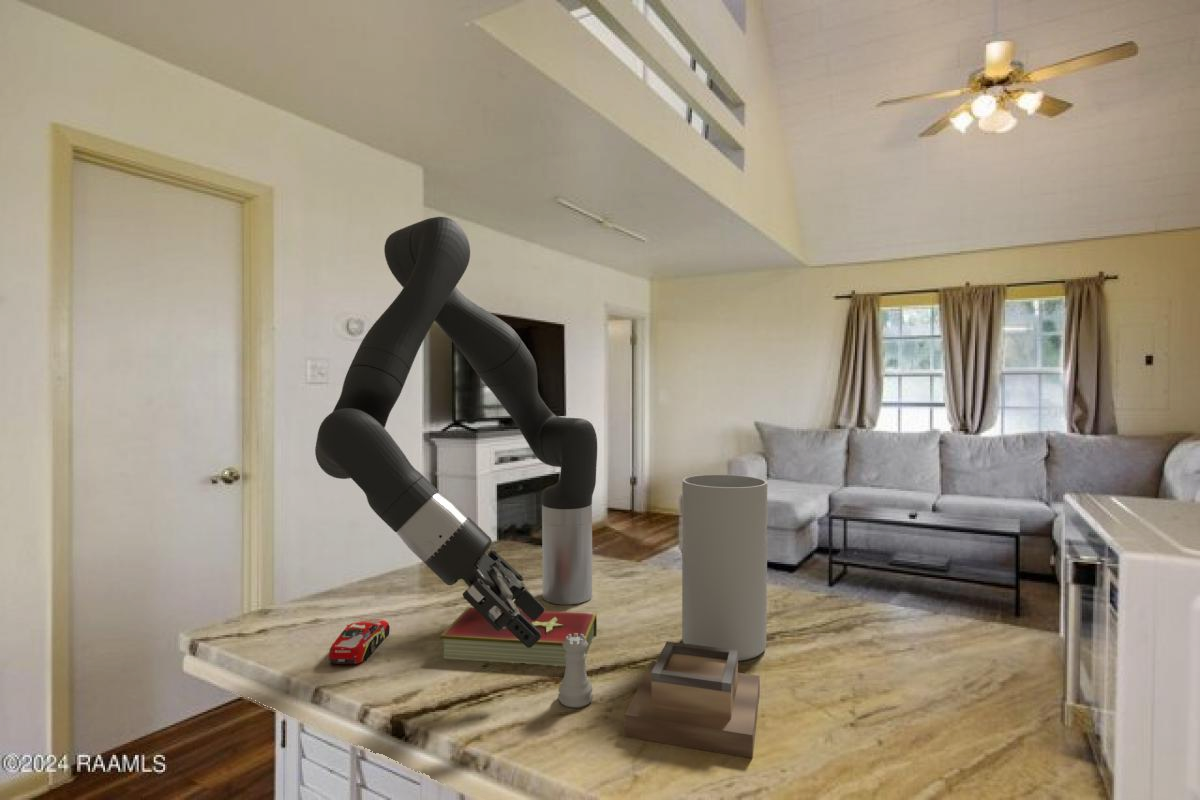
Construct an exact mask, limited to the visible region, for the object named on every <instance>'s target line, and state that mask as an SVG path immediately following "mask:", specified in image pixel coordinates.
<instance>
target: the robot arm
mask: <svg viewBox="0 0 1200 800" xmlns="http://www.w3.org/2000/svg"><path fill="white" fill-rule="evenodd" d="M470 248H471V247H470V242H469V239H468V236H467V234H466V232H465V231H464V229H463V228H462V227H461V225H460V224H458V223H457V222H456V221H455V220H453V219H452V218H449V217H446V216H435V217H430V218H429V217H428V218H425V219H423V220H421V221H419V222H416V223H412V224H410V225H407V226H405V227H403V228H400V229H397V230H395V231H394V232H393V233H390V234H389V236H388V237H387V238H386V240H385V244H384V247H383V250H384V257H385V261H386V264H387V266H388V268H389V270H390V272H391V274H392V276H393V277H394V278H395V280H396V281H397V282H398V284H399V285H400V286H401V287H402V289H401V291H400V292H399V294H398V295H397V296H396V298H395V299H394V300H393V301H392V302H391V304H390V305H389V306H388V307H387V308H386V310H384V312H383V313H382V314H381V315H380V317H379V318H378V319H377V320H376V321H375V322H374V323H373V324H372V326H371V327H370V329H369V330H368V331H367V333H366V334H365V336H364V338H363V339H362V341H361V342H360V345H359V346H358V348H357V351H356V353H355V354H354V356H353V358H352V361H351V363H350V365H349V367H348V370H347V373H346V375H345V378H344V381H343V384H342V389H341V393H340V396H339V398H338V400H337V402H336V404H335V406H334V409H333V411H332V412H331V413H329V414H328V415H327V416H326V417H325V418H324V419H323V421H322V422H321V423H320V425H319V428H318V431H317V434H316V435H317V437H316V443H315V449H314V450H315V452H314V453H315V454H314V455H315V459H316V461H317V462H316V463H317V464H318V466H319V467H320V468H321V470H322V471H323V472H324V473H326V475H328V476H330V477H331V478H334V479H335V478H336V479H341V480H346V479H347V480H348V479H351V480H352V481H353V482H354V483H355V484H356V485H357V486H358V487H359V488H360V489H361V490H362V492H363V493H364V494H365V496H366V499H367V503H368V506H369V507H370V508H371V509H372V511H373V512H374V513H375V514H376V516H378V517H379V519H381V520H382V521H383V522H384V523H385V524H386V525H388V527H389V528H390V529H391V530H392V531H393V532H395V533H396V534H397V535H398V536H399V538H400V539H401V541H402V542H403V543H404V544H405V545H406V546H407V548H408V549H409V550H410V551H411V552H412V553H413V554H414V555H415V556H416V557H418V558H419V559H420V561H421V562H422V563H423V564H425V565H426V567H427V568H429V569H430V570H431V572H433V573H434V574H435V575H436V576H437V577H438V578H439V579H440V580H441V581H442V582H443V583H444V584H445V585H447V586H452V585H455V584H456V583H457V582H458V581H460V580H462V581H464V583H465V584H466V585H467V587H468V588H466V590H464V591H463V593H462V597H463V599H464V600H466V602H467V603H468V604H470V606H471V607H473V608H475V609H476V610H477V611H478V612H479V613H480V614H481V615H482V616H483V617H484V618H485V619H486V620H487V621H488V622H489V623H490V624H491V625H492V626H493V627H494V629H496V630H497V631H500V630H501V629H502V628H503V629H505V628H506V627H507V629H508V630H509V631H510V632H511V633H512V634H513V635H515V636H516V637H517V638H518V639H519V640H520V641H521V642H522V643H523V644H524V645H525V646H526V647H527V648H531V647H532V646H533V645H534V644H535V643H536V642H537V641H538V640H539V639H540V637H541V632H540V631H539V630H538V629H537V628H536V627H535V626H534V625H533V624H532V623H531V622H530V621H529V620H528V619H527V618H526V617H525V616H524V615H523V614H522V613H520V612H519V610H522V611H523V612H524V613H525V614H526V615H527V616H528V617H529V618H530V619H531V620H536V619H537V618H538V617H539V616H540V615H541V614H542V613H543V612H544V611H545V606H544V605H543V603H541V602H540V600H538V599H537V598H536V596H534V595H533V594H532V593H531V592H530V591H529V590H527V587H526V584H525V582H523V581H524V577H523V576H522V574H520V573H519V572H518V571H517V570H516V569H515V568H513V567H512V565H510V564H509V563H508V562H507V561H506V560H505V559H504V558H503V557H502V556H501V555H500V554H499V553H497V551H496V550H494V549H490V547H491V545H492V542H493V541H492V539H491V537H490V536H489V535H488V534H487V533H486V532H485V531H484V530H483V529H482V528H481V527H480V526H479V525H478V524H477V523H476V522H475V521H474V520H473V519H471V517H469V515H467V514H466V513H465V512H464V511H463V510H462V509H461V507H459V506H458V505H457V504H456V503H455V502H454V501H453V500H451V499H450V498H449V497H447V496H446V495H445V494H442V492H441V491H439V490H438V489H437V488H436V487H435V486H434V485H433V484H432V483H431V482H430V481H429V479H427V478H426V477H425V476H424V475H423V474H422V473H420V471H418V470H417V469H416V468H415V467H414V466H413V465H412V463H410V460H409V459H408V458H407V456H406V454H405V453H404V451H403V450H402V449H401V448H400V447H399V445H398V443H397V442H396V440H394V438H393V437H392V435H390V432H388V431H387V429H386V425H387V422H388V419H389V416H390V414H391V411H392V410H393V408H394V406H395V405H396V403H397V401H398V399H399V398H400V395H401V393H402V391H403V389H404V386H405V383H406V381H407V378H408V376H409V375H410V374H409V373H410V371H411V369H412V367H413V364H414V362H415V359H416V358H417V357H416V356H417V354H418V352H419V350H420V348H421V346H422V344H423V342H424V340H425V338H426V336H427V335H428V333H429V331H430V329H431V327H432V326H433V324H434V322H435V323H436V324H437V325H438V326H439V327H440V328H441V329H442V331H443V333H444V334H446V336H447V337H448V338H449V339H450V341H452V343H453V345H455V347H457V349H458V350H459V351H460V353H461V354H462V355H463V356H464V359H466V360H467V362H468V363H469V365H470V366H471V368H472V369H473V370H474V371H475V373H476V375H477V376H478V377H479V378H480V380H481V381H482V382H483V383H484V384H485V385H486V387H487V388H488V389H489V390H490V391H491V392H492V394H493V395H494V397H495V398H496V399H497V400H498V401H499V403H500V404H501V406H502V407H503V408H504V410H505V411H506V412H507V414H508V415H509V416H510V417H511V419H512V420H513V422H514V423H515V424H516V427H517V428H518V429H519V431H520V433H521V435H522V436H523V438H524V440H525V441H526V444H527V445H528V446H529V447H530V449H531V451H532V452H533V454H534V455H535V457H536V458H537V459H538V460H539V461H540V462H542V463H543V464H545V465H547V466H551V467H558V468H560V472H559V473H560V474H559V475H560V476H559V480H558V482H556V483H555V484H553V485H550V486H549V485H548V486H547V487H545V488H544V489H543V490H542V494H541V516H542V517H541V520H542V522H541V524H542V527H541V528H542V529H541V530H542V531H541V532H542V534H541V535H542V536H541V538H542V539H541V541H542V542H541V543H542V545H541V546H542V555H541V556H542V559H541V560H542V568H541V569H542V580H541V581H542V598H543V600H544V601H546V602H548V603H550V604H555V605H574V604H575V605H576V604H582V603H584V602H585V603H586V602H587V601H590V600H591V599H592V597H593V495H594V492H595V488H596V484H597V467H598V466H597V465H598V464H597V462H598V438H597V432H596V430H595V427H594V425H593V424H592V423H591V422H590V421H589V420H587V419H585V418H580V417H579V418H578V417H561V416H560V417H559V416H557V415H556V414H555V413H554V412H552V410H551V409H550V408H549V407H548V405H546V403H545V401H544V400H543V398H542V397H541V395H540V393H539V388H538V369H537V364H536V361H535V359H534V357H533V355H532V353H531V351H530V350H529V349H528V348H527V346H526V344H525V343H524V341H522V339H521V337H520V336H519V334H518V333H517V332H516V331H515V329H513V328H512V326H511V325H510V324H508V323H506V321H504V320H502V319H501V318H499V317H498V316H497V315H495V314H493V313H491V312H490V311H488V310H486V309H484V308H483V307H482V306H479V305H478V304H476V303H475V302H473V301H471V300H470V299H469V298H467V297H466V296H465V295H464V294H463V293H462V292H461V291H460V290H459V289H458V288H457V285H458V283H459V282H460V280H461V279H462V277H463V276H464V274H465V272H466V270H467V268H468V266H469V262H470V258H471V249H470ZM488 549H490V551H489V552H488V553H486V552H487V551H488ZM518 608H519V609H518ZM500 610H501V611H502V612H503V613H502V614H501V612H500Z"/></svg>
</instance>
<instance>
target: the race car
mask: <svg viewBox="0 0 1200 800" xmlns="http://www.w3.org/2000/svg"><path fill="white" fill-rule="evenodd" d="M390 628H391V627H390V624H389V622H388V621H386V620H383V619H378V618H374V619H365V620H361V621H359V622H358V621H357V622H353V623H350V624H347V625H346V627H345V628H344V629H343V631H342V632H341V633H339V636H338V637H337V638H336V639H335V641H334V642H333V643H332V645H331V646H330V648H329V654H328V663H329V664H332V665H335V664H336V665H353V664H355V665H356V664H360V663H362V662H364V661H368V659H369V658H370V657H371V654H373V653H374V652H375V650H377V648H378V647H379V646H380V645H381V644H382V642H383V641H384V640H385V639H387V637H389V634H390Z"/></svg>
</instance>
